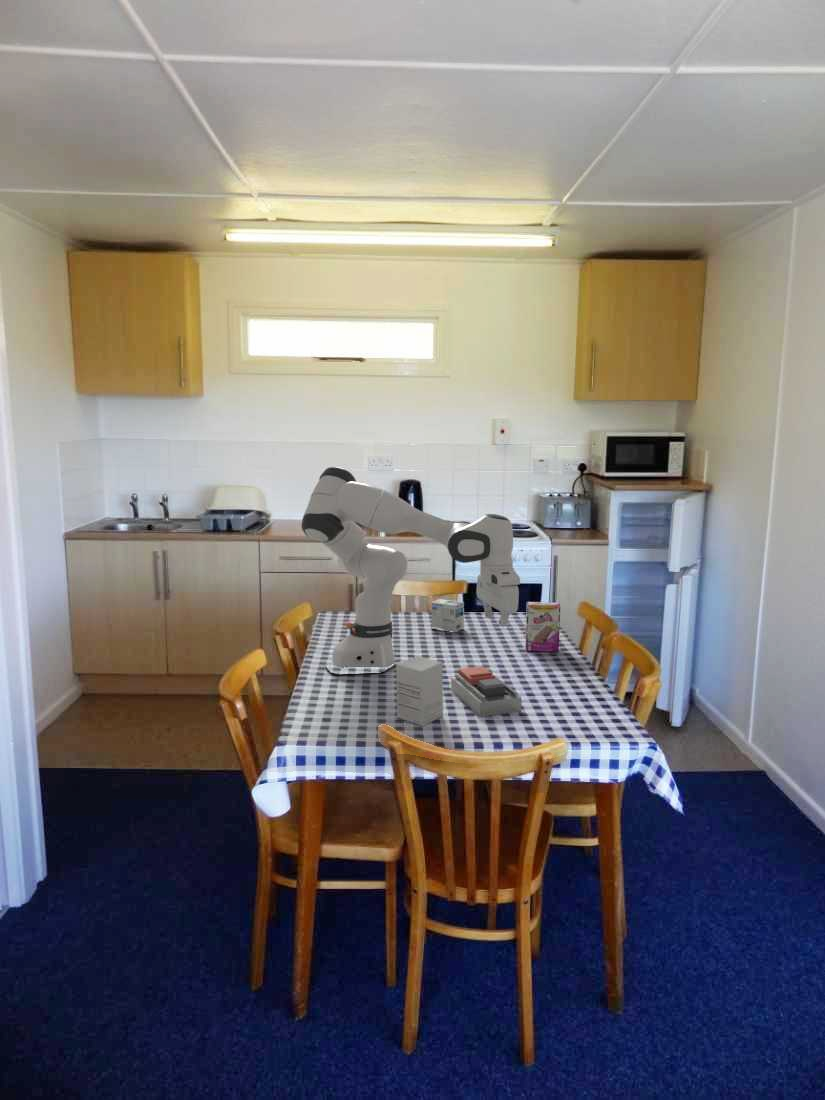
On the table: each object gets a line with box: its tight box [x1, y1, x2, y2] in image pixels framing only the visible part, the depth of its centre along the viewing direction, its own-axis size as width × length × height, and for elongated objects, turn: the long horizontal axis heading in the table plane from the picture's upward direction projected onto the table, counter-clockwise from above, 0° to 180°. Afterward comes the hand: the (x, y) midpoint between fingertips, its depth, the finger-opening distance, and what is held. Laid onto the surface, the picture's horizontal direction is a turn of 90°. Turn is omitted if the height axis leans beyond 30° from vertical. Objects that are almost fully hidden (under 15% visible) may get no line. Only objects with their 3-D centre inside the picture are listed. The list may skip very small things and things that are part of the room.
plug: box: [477, 678, 505, 698], centre depth 206 cm, size 6×5×6 cm
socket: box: [450, 672, 522, 718], centre depth 211 cm, size 12×21×5 cm, turn 18°
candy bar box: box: [524, 601, 561, 653], centre depth 255 cm, size 11×5×16 cm, turn 84°
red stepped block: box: [458, 665, 496, 685], centre depth 216 cm, size 8×9×3 cm
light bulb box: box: [430, 598, 465, 633], centre depth 282 cm, size 11×7×11 cm, turn 58°
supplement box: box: [395, 656, 444, 727], centre depth 198 cm, size 9×9×15 cm
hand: (495, 621), depth 210 cm, fingers open, 8 cm apart
